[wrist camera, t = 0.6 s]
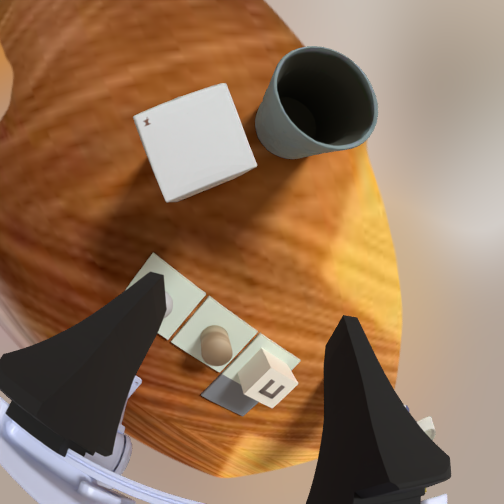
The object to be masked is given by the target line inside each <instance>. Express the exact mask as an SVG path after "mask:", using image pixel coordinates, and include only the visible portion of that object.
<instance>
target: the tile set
mask: <svg viewBox="0 0 504 504" xmlns="http://www.w3.org/2000/svg"><path fill="white" fill-rule="evenodd" d="M150 271H151V272H154V273H158V274H162V275H164V284H165V291H166V292H168V293H169V294H170V296H171V298H172V300H173V309H172V311H171V313H170V314H169V315H168V316H167V317H166V318H163V321H162V323H161V326H160V329H159V331H158V333H159V334H160V335H161V336H163V337H164V338H166V339H167V340H168V339H169V338H170V337H171V335H172V334H173V333H174V332H175V331H176V329H177V328H178V327H179V326H180V325H181V323H182V322H183V321H184V320H185V319H186V318H187V316H188V315H189V314H190V313H191V312H192V310H193V309H194V308H195V307H196V306H197V304H198V303H199V302H200V301H201V300H202V298H203V297H204V296H205V295H206V293H205V292H204V291H202V290H201V289H200V288H198V287H197V286H196V285H194V284H193V283H192V282H191V281H189V280H188V279H187V278H185V277H184V276H183V275H182V274H180V273H179V272H178V271H177V270H175V269H174V268H173V267H171V266H170V265H169V264H168V263H166V262H165V261H164V260H163V259H161V258H160V257H159V256H158V255H157V254H155V253H154V252H153V253H152V255H151V256H150V257H149V259H148V260H147V261H146V263H145V264H144V265H143V267H142V268H141V269H140V271H139V272H138V273H137V275H136V276H135V277H134V279H133V280H132V282H131V283H130V284H129V286H128V287H127V289H128V288H129V287H130V286H132V285H133V284H134V283H136V282H137V281H138V280H139V279H141V278H142V277H143V276H145V275H146V274H147V273H149V272H150ZM127 289H126V290H127ZM212 325H218V326H221V327H223V328H224V329H225V330H226V331H227V333H228V336H229V340H230V343H231V347H232V351H233V355H232V358H231V360H232V359H233V358H234V357H235V356H236V355H237V354H238V353H239V352H240V351H241V350H242V348H243V347H244V346H245V345H246V344H247V343H248V342H249V341H250V340H251V339H252V338H253V337H254V336H255V334H256V333H257V332H258V331H257V330H256V329H254V328H253V327H251V326H250V325H249V324H247V323H246V322H244V321H243V320H242V319H240V318H239V317H237V316H236V315H235V314H233V313H232V312H231V311H229V310H228V309H226V308H225V307H224V306H222V305H221V304H220V303H218V302H217V301H216V300H214V299H213V298H212V297H210V296H208V298H207V299H206V300H205V301H204V302H203V303H202V305H201V306H200V307H199V308H198V309H197V311H196V312H195V313H194V314H193V315H192V316H191V318H190V319H189V320H188V321H187V322H186V324H185V325H184V326H183V327H182V328H181V329H180V331H179V332H178V333H177V334H176V335H175V337H174V338H173V339H172V340H171V342H172V343H173V344H175V345H176V346H178V347H179V348H181V349H182V350H184V351H185V352H187V353H188V354H190V355H192V356H193V357H195V358H196V359H198V360H200V361H201V362H203V363H204V364H206V365H208V366H209V367H211V368H213V369H214V370H216V371H218V372H219V373H220V372H221V371H222V369H223V368H224V367H225V366H226V365H227V364H228V363H229V362H230V361H231V360H230V361H229V362H228V363H226V364H225V365H222V366H212V365H209V364H207V363H206V362H205V361H204V360H203V358H202V354H201V340H200V336H201V333H202V331H203V330H204V329H205V328H206V327H208V326H212ZM261 347H262V348H263V349H265V350H266V351H268V352H269V353H271V354H272V355H274V356H276V357H277V358H279V359H280V360H282V361H283V362H285V363H287V365H288V367H289V368H290V370H292V369H293V368H294V367H295V366H296V365H297V364H298V363H299V362H300V361H301V360H300V359H299V358H297V357H296V356H294V355H293V354H291V353H289V352H288V351H286V350H285V349H283V348H282V347H281V346H279V345H278V344H276V343H275V342H273V341H272V340H270V339H269V338H267V337H266V336H264V335H263V334H262V333H259V334H258V335H257V336H256V337H255V338H254V340H253V341H252V342H251V343H250V344H249V345H248V346H247V347H246V348H245V349H244V350H243V351H242V352H241V353H240V354H239V356H238V357H237V358H236V359H235V360H234V361H233V362H232V363H231V364H230V365H229V366H228V367H227V368H226V369H225V370H224V371H223V372H222V374H223V375H225V376H226V377H228V378H230V379H232V380H233V381H235V382H237V383H239V384H241V382H240V379H239V375H238V371H239V370H240V369H241V368H242V367H243V366H244V365H245V364H246V363H247V362H248V361H249V360H250V359H251V358H252V357H253V356H254V355H255V354H256V353H257V352H258V350H259V349H260V348H261Z"/></svg>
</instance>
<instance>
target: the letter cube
mask: <svg viewBox="0 0 504 504" xmlns="http://www.w3.org/2000/svg"><path fill="white" fill-rule="evenodd" d="M238 375H239V379H240V382H241V386H242V389H243V393H244V395H246V396H248V397H250V398H252V399H254V400H256V401H258V402H260V403H262V404H264V405H266V406H269V407H271V408H273V407H274V406H275V405H277V404H278V403H279V402H280V401H281V400H282V399H283V398H284V397H285V396H286V395H287V394H288V393H289V392H290V391H291V390H292V389H294V388H295V387H296V386H297V385H298V382H297V380H296V379H295V377H294V375H293V373H292V372H291V370H290V368H289V367H288V365H287V363H285V362H283V361H282V360H280V359H279V358H277V357H276V356H274V355H272V354H271V353H269V352H268V351H266V350H265V349H263V348H262V347H261V348H260V349H259V350H258V352H257V353H256V354H255V355H254V356H253V357H252V358H251V359H250V360H249V361H248V362H247V363H246V364H245V365H244V366H243V367H242V368H241V369H240V370H239V371H238Z"/></svg>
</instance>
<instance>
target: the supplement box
mask: <svg viewBox="0 0 504 504" xmlns="http://www.w3.org/2000/svg"><path fill="white" fill-rule="evenodd" d="M133 119H134V122H135V125H136V127H137V130H138V133H139V136H140V139H141V141H142V144H143V147H144V149H145V152H146V155H147V157H148V160H149V162H150V165H151V167H152V170H153V172H154V175H155V177H156V180H157V182H158V184H159V187H160V189H161V192H162V194H163V196H164V199H165V201H166V202H178V201H181V200H183V199H185V198H188V197H190V196H193V195H195V194H198V193H200V192H203V191H205V190H208V189H210V188H212V187H215V186H217V185H220V184H222V183H225V182H227V181H230V180H232V179H234V178H236V177H239V176H241V175H243V174H244V173H246V172H248V171H250V170H251V169H253V168H255V167H257V163H256V161H255V158H254V156H253V153H252V151H251V148H250V145H249V143H248V140H247V137H246V135H245V132H244V129H243V126H242V124H241V121H240V118H239V116H238V113H237V110H236V108H235V105H234V103H233V100H232V97H231V95H230V92H229V90H228V87H227V85H226V84H225V83H222V84H218V85H215V86H211V87H208V88H205V89H202V90H199V91H196V92H193V93H190V94H187V95H184V96H181V97H178V98H175V99H173V100H171V101H168V102H166V103H163V104H161V105H158V106H156V107H154V108H151V109H149V110H146V111H144V112H142V113H139V114H137V115H135V116H134V117H133Z"/></svg>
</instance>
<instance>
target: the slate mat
mask: <svg viewBox="0 0 504 504" xmlns="http://www.w3.org/2000/svg"><path fill="white" fill-rule="evenodd" d="M201 396H203V397H205V398H207V399H208V400H210V401H212V402H214V403H216V404H218V405H220V406H222V407H224V408H226V409H228V410H231V411H233V412H235V413H237V414H239V415H241V416H244V415H245V414H246V413H247V412H248V411H249V410H251V409H252V408H253V407H254V406H255V405H256V404H257V403H258V401H256V400H254V399H252V398H250V397H248V396H246V395H244V393H243V389H242V386H241V384H239V383H237V382H235V381H233V380H232V379H230V378H228V377H226V376H225V375H223V374H222V373H221V374H220V375H219V376H218V377H217V378H216V379H215V380H214V381H213V382H212V383H211V384H210V385H209V386H208V387H207V388H206V389H205V390H204V391H203V392H202V393H201Z"/></svg>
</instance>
